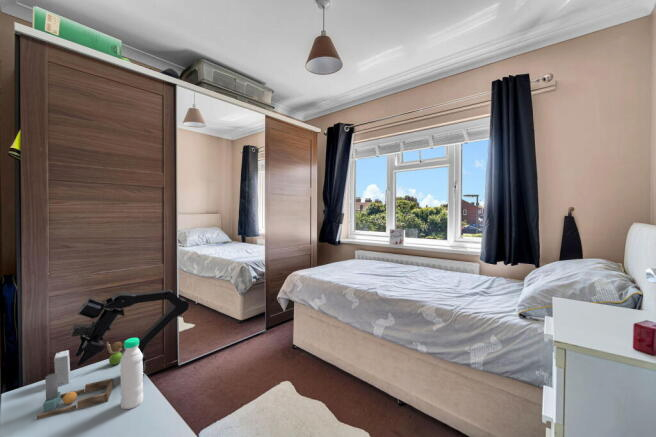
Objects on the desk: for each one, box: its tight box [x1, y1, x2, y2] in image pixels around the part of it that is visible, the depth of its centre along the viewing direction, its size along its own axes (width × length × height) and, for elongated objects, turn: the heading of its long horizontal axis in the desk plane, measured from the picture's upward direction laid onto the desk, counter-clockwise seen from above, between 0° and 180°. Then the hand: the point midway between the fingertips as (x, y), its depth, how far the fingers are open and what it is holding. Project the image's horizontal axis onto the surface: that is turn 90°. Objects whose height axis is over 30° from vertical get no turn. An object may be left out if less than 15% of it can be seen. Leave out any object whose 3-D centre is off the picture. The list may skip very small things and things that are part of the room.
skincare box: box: [53, 349, 71, 387], centre depth 118 cm, size 6×4×12 cm
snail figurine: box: [106, 341, 123, 366], centre depth 131 cm, size 5×6×12 cm
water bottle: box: [119, 337, 144, 410], centre depth 106 cm, size 7×7×25 cm
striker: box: [42, 372, 62, 413], centre depth 103 cm, size 3×6×12 cm, turn 29°
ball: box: [62, 391, 78, 405], centre depth 106 cm, size 4×4×4 cm
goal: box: [35, 378, 115, 420], centre depth 107 cm, size 20×11×3 cm, turn 118°
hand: (77, 360), depth 110 cm, fingers open, 9 cm apart
